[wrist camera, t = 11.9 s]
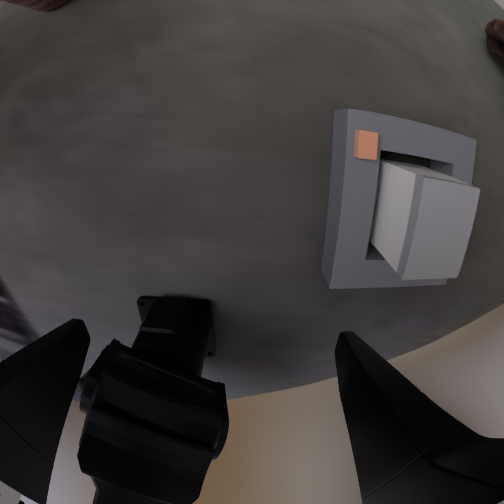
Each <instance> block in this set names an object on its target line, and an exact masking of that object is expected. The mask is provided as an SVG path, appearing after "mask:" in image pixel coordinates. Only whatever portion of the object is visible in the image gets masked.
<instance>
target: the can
mask: <svg viewBox="0 0 504 504" xmlns="http://www.w3.org/2000/svg"><path fill="white" fill-rule="evenodd" d="M0 1H5V2H9V3H13V4H17V5H21V6H24V7H28V8H31V9H34V10H38V11H49V10H52V9H55V8H57V7H59V6H61V5H63V4H64V3H66V2H67V1H68V0H0Z"/></svg>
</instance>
